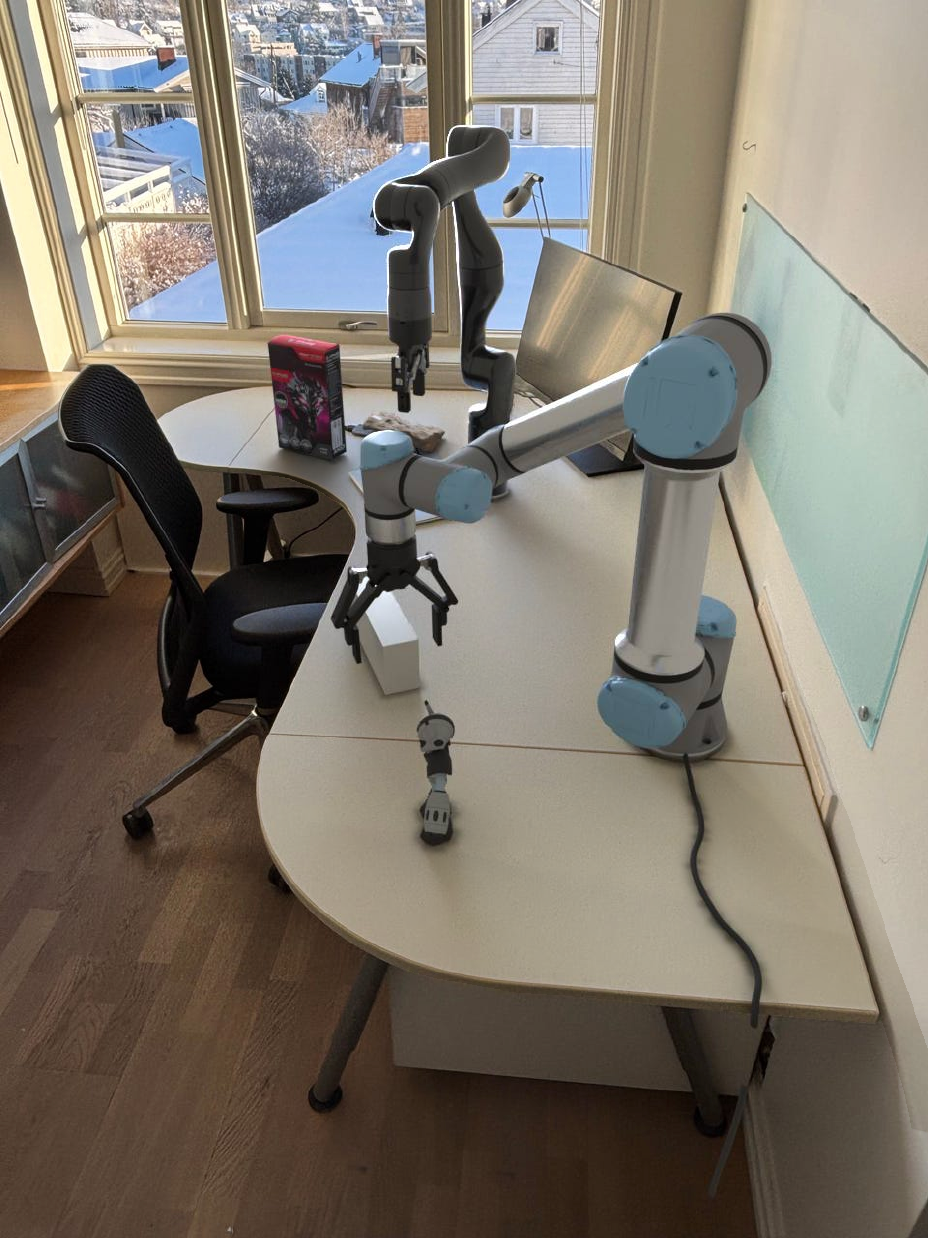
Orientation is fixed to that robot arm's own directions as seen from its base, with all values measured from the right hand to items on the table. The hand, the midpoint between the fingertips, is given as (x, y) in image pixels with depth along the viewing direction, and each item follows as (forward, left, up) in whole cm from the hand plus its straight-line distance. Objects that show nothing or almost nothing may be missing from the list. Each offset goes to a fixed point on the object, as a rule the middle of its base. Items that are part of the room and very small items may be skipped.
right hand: (397, 650), depth 149 cm
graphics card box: (+83, +51, -6) cm, 98 cm away
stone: (+95, +32, -6) cm, 101 cm away
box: (+7, +5, -6) cm, 10 cm away
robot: (-29, -15, -6) cm, 33 cm away
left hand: (+38, +9, +27) cm, 47 cm away
